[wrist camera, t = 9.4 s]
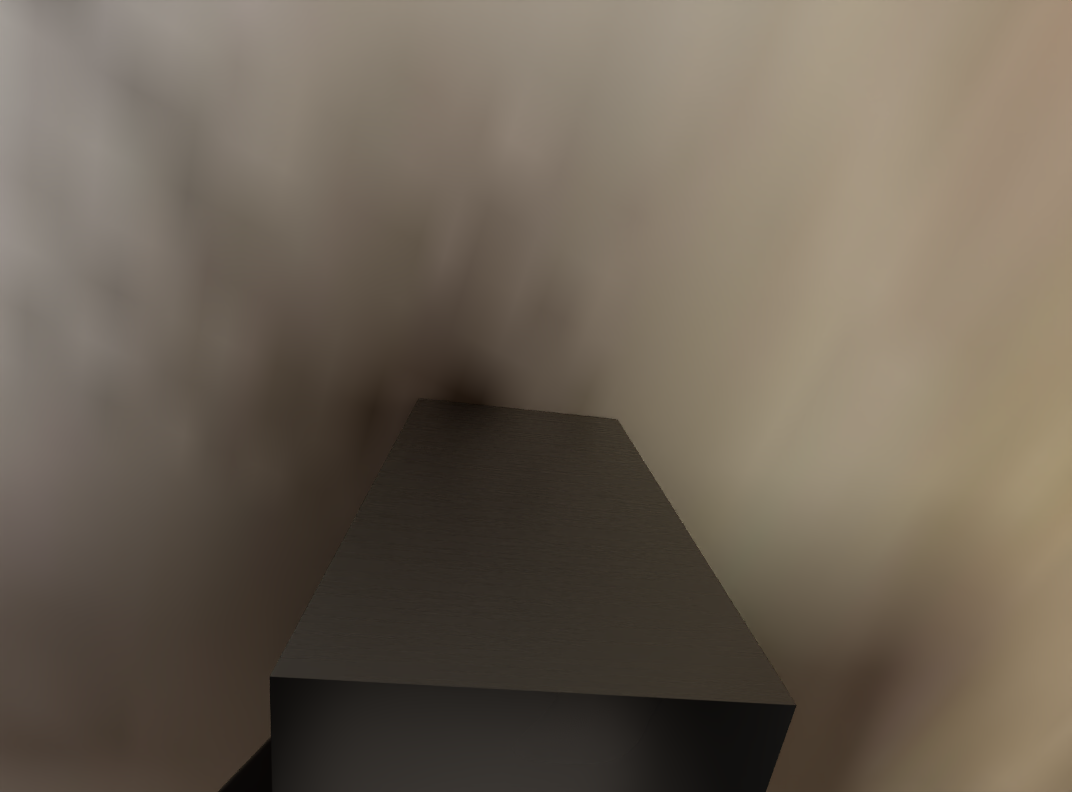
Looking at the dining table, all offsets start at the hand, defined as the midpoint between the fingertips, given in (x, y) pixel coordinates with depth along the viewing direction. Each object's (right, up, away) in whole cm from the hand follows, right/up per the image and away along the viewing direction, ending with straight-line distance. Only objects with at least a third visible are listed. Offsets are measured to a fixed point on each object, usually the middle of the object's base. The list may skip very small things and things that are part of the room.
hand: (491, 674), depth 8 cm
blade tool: (-1, -7, +3) cm, 8 cm away
